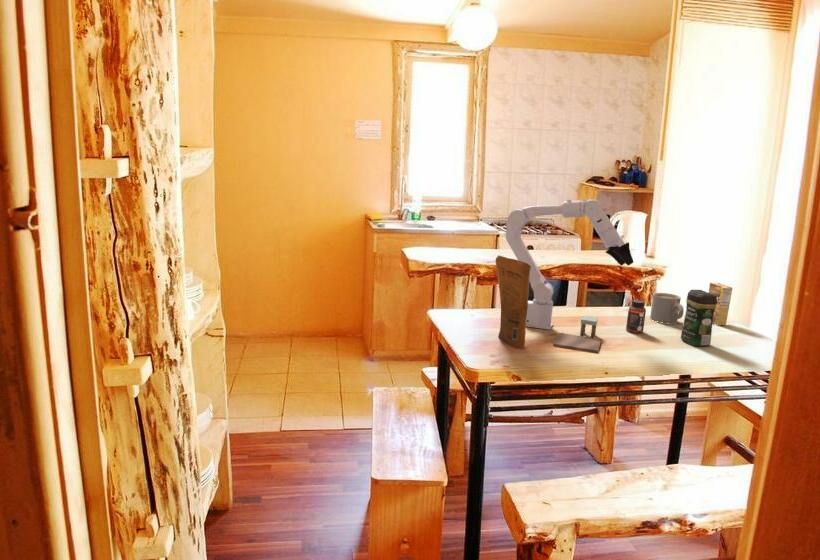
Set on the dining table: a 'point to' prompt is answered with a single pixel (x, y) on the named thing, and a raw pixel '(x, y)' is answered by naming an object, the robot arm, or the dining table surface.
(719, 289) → the candy box
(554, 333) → the dining table surface
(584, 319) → the stool
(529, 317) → the robot arm
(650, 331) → the dining table surface
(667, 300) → the coffee mug
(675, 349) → the dining table surface
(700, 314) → the coffee jar
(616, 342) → the dining table surface
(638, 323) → the supplement bottle
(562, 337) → the walnut board
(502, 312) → the pancake mix bag
